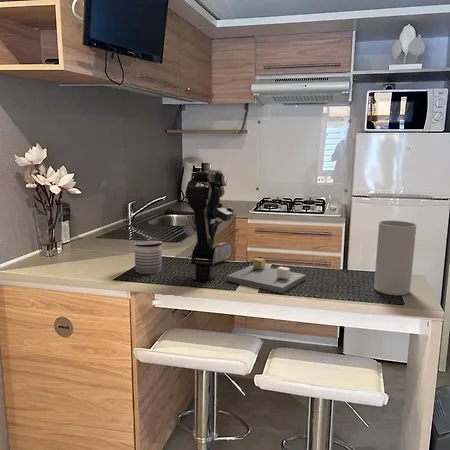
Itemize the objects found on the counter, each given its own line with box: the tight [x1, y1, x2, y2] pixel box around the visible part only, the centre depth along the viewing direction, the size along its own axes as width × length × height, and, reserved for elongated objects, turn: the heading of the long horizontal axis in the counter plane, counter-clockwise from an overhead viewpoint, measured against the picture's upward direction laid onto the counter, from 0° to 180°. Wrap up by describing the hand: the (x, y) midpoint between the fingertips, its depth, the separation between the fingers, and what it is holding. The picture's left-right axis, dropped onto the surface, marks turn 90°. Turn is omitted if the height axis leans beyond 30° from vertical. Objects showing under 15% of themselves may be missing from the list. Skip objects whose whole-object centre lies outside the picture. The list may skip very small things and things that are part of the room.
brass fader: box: [252, 257, 266, 269], centre depth 187 cm, size 3×4×4 cm
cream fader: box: [276, 266, 291, 279], centre depth 175 cm, size 3×4×4 cm
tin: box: [207, 241, 233, 264], centre depth 205 cm, size 15×3×8 cm, turn 141°
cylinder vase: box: [373, 220, 417, 296], centre depth 168 cm, size 12×12×25 cm
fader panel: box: [226, 264, 307, 294], centre depth 179 cm, size 20×24×2 cm
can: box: [133, 240, 163, 275], centre depth 190 cm, size 11×11×12 cm
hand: (212, 238), depth 191 cm, fingers closed
